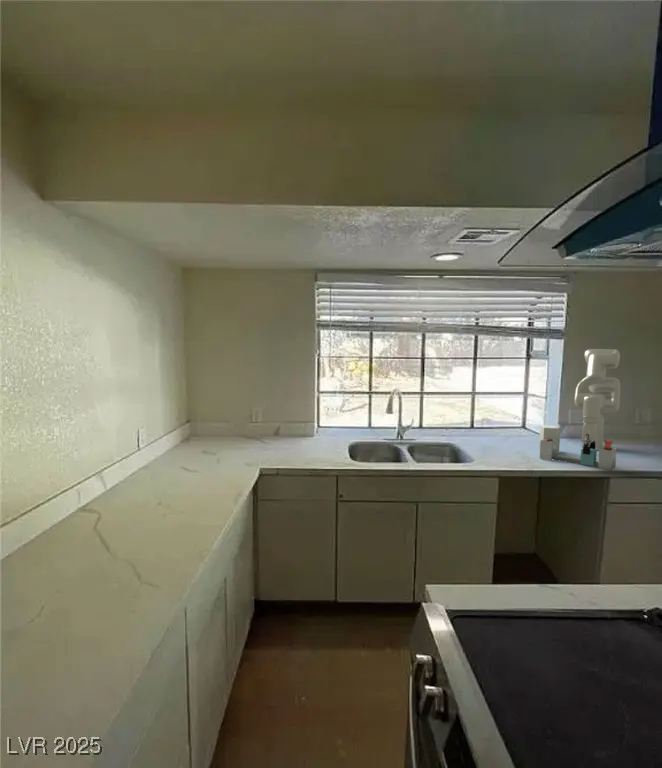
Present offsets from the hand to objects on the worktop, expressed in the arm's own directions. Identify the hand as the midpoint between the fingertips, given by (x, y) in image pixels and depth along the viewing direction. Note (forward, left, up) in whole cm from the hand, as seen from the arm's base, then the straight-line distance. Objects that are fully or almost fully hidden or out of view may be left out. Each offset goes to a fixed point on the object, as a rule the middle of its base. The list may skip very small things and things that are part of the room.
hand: (589, 452), depth 242 cm
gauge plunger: (+1, +9, +3) cm, 9 cm away
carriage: (+1, 0, -7) cm, 7 cm away
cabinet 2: (+1, +9, -7) cm, 11 cm away
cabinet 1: (+1, -20, -7) cm, 21 cm away
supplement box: (-13, -24, -7) cm, 28 cm away
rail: (+1, -6, -7) cm, 9 cm away
